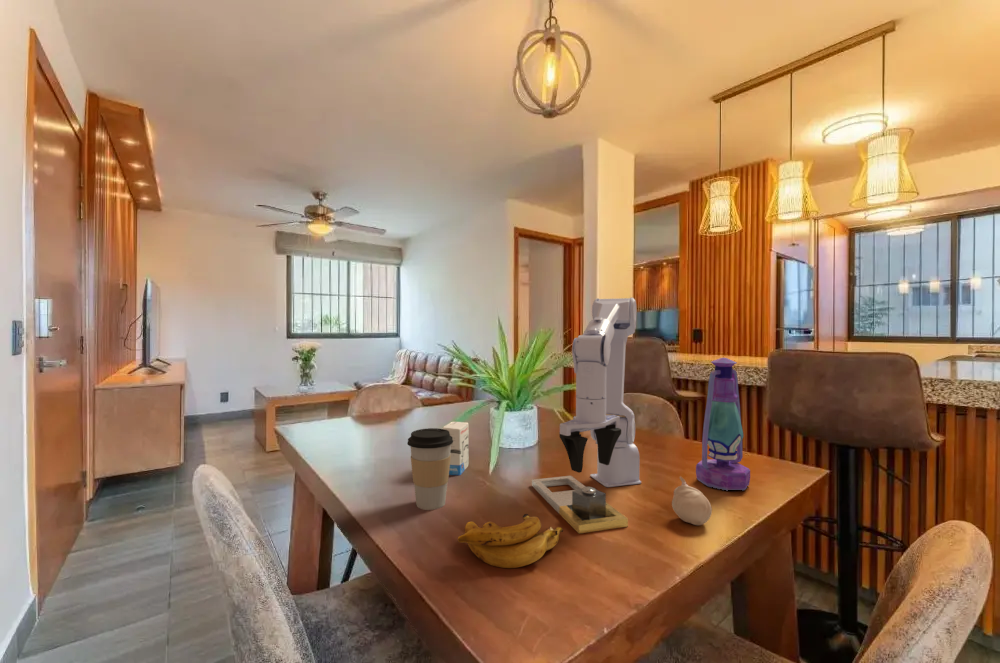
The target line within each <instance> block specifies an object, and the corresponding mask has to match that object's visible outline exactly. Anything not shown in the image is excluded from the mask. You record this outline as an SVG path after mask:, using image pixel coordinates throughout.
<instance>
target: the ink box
mask: <svg viewBox="0 0 1000 663" xmlns="http://www.w3.org/2000/svg"><path fill="white" fill-rule="evenodd" d="M442 429H445V430H448V431H449V433H450V436H452V438H453V439H452V440H453V443H452V444H451V451H450V454H451V458H450V468H449V476H461V475H462V474H463V473H464V472H465V471H466V469H467V468H468V467H469V464H470V463H469V461H470V460H469V459H470V458H469V435H470V434H469V432H470V431H469V429H470V428H469V422H465V421H464V422H463V421H451V422H448V423H447V424H446V425H444V426H443V427H442Z"/></svg>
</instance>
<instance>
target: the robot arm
mask: <svg viewBox="0 0 1000 663" xmlns="http://www.w3.org/2000/svg"><path fill="white" fill-rule="evenodd" d="M637 313H638V312H637V300H636V299H635V298H634V297H628V298H627V297H626V298H622V297H621V298H620V297H619V298H595V299H594V300H593V301H592V306H591V315H592V319H591V320H590V321H589V323H588V324H587V325H586V327H585V329H584V331H583V334H581V335H578V337H574V339H573V341H572V348H571V353H572V357H571V358H572V362H573V372H574V374H575V416H573V419H571V420H567V421H565V422H560V423H559V439H560V440H561V442H562V444H563V445H564V448H565V450H566V453H567V456H568V459H569V460H568V461H569V464H570V468H571V471H573V472H576V473H579V474H580V473H582V471H583V466H584V465H583V464H584V452H585V448H586V445H587V442H588V440H589V438H587V437H586V436H583V435H582V434H580V433H584V432H589V431H590V437H591V439H592V440H593V441H595V444H596V446H597V450H596V451H597V452H596V453H597V458H596V459H597V460H596V461H597V464H596V465H597V466H596V468H597V469H596V470H597V473H591V474H589V475H590V478H592V479H594V480H595V481H596V482H597V483H600V485H602V486H604V487H605V488H613V487H621V486H630V485H639V484H642V480H640V464H641V462H640V459H641V458H640V452H639V449H638V446H636V444H635V443H634V442H635V437H636V422H635V420H636V419H635V418H636V417H635V414H634V413H635V412H634V411H633V410H632V409H631V408H630V407H629V406H627V405H626V404H625V403H624V396H625V395H624V393H625V392H624V390H625V370H626V347H627V346H626V345H627V343H628V342H627V341H628V338H629V336H631V335H634V334H635V332H636V328H637ZM623 416H624V417H623Z"/></svg>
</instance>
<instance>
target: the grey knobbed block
mask: <svg viewBox="0 0 1000 663" xmlns="http://www.w3.org/2000/svg"><path fill="white" fill-rule="evenodd" d="M606 496H607V494H606V493H605V492H602V491H600V490H598V489H596V488H595V487H592V486H585V487H583V488H582V489H578V490H575V491H572V511H573V512H574V513H575V514H576V515H577V516H578V517H579V518H580V519H581V520H582V521H584V520H591V519H598V518H606V517H607V516H606V502H607V498H606Z"/></svg>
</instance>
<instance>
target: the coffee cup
mask: <svg viewBox="0 0 1000 663" xmlns="http://www.w3.org/2000/svg"><path fill="white" fill-rule="evenodd" d="M452 439H453V438H452V436H450V433H449V431H448V430H445V429H443V428H437V427H436V428H435V427H434V428H432V427H430V428H420V429H417V430H414V431H411V433H410V437H409V438H407V445H408V446H409V447H410V462H411V474H412V483H413V487H414V497H415V506H416V507H417V508H418V509H420V510H423V511H434V510H438V509H440V508H443V507H444V506H446V498H447V489H448V482H449V476H450V475H449V468H450V458H451V454H450V451H451V444H452V443H453V440H452Z"/></svg>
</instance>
